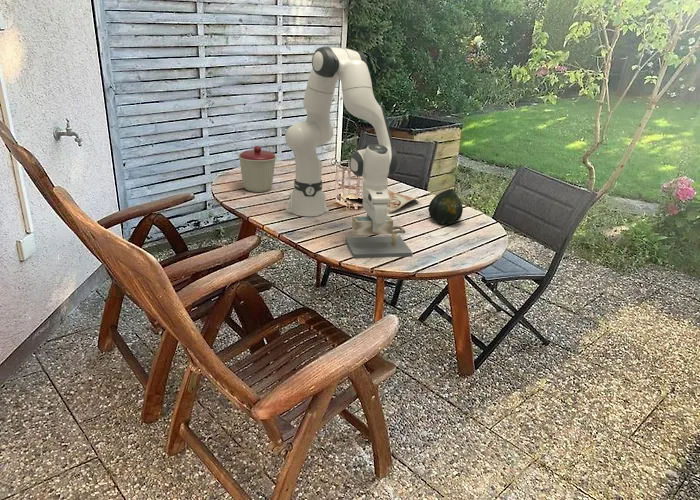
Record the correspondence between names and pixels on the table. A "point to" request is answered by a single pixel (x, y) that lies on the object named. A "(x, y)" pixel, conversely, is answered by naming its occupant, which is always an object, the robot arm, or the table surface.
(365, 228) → the frame
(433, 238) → the table surface
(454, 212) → the squash
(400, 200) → the poster
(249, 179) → the canister
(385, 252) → the board
